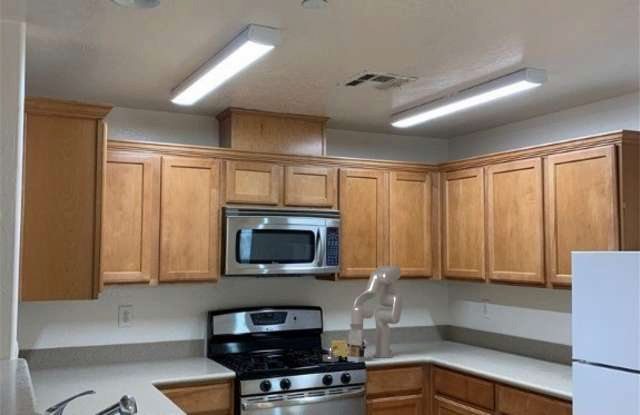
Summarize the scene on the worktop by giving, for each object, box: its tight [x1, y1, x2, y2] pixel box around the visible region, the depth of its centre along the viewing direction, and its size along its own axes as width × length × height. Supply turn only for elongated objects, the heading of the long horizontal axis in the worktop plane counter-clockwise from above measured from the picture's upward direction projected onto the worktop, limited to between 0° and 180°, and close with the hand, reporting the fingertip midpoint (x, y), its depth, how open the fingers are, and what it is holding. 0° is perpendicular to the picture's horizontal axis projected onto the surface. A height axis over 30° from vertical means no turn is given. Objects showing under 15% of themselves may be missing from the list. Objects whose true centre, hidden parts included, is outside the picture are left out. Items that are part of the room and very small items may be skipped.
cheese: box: [330, 339, 349, 358], centre depth 405 cm, size 10×11×10 cm
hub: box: [322, 346, 340, 363], centre depth 385 cm, size 10×10×8 cm
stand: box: [347, 345, 366, 363], centre depth 386 cm, size 8×8×9 cm
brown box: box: [348, 345, 365, 357], centre depth 387 cm, size 7×7×6 cm
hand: (356, 355), depth 386 cm, fingers closed on brown box, 7 cm apart
